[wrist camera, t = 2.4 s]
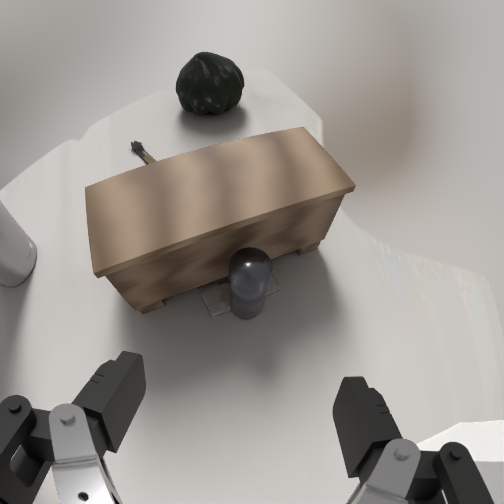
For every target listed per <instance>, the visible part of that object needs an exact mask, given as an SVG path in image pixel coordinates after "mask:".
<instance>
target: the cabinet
mask: <svg viewBox="0 0 504 504" xmlns="http://www.w3.org/2000/svg"><path fill="white" fill-rule="evenodd" d="M355 186H356V185H355V184H354V182H353V181H352V180H351V179H350V178H349V177H348V175H347V174H346V173H345V172H344V171H343V169H342V168H341V167H340V166H339V165H338V164H337V163H336V161H335V160H334V159H333V158H332V157H331V156H330V155H329V154H328V152H327V151H326V150H325V149H324V148H323V147H322V146H321V145H320V144H319V143H318V142H317V141H316V139H315V138H314V137H313V136H312V135H311V134H310V133H309V132H308V131H307V130H306V129H305V128H304V127H299V128H293V129H288V130H282V131H276V132H271V133H266V134H261V135H256V136H251V137H247V138H242V139H238V140H234V141H229V142H225V143H221V144H217V145H213V146H209V147H205V148H201V149H198V150H194V151H191V152H187V153H183V154H180V155H177V156H173V157H170V158H167V159H163V160H160V161H157V162H154V163H151V164H148V165H145V166H142V167H139V168H136V169H133V170H130V171H127V172H124V173H122V174H119V175H116V176H113V177H111V178H108V179H106V180H103V181H100V182H98V183H95V184H93V185H90V186H88V187H85V197H86V213H87V225H88V235H89V244H90V252H91V260H92V267H93V273H94V274H95V276H96V277H97V278H100V277H103V276H106V277H107V279H108V280H109V281H110V282H111V283H112V285H113V286H114V287H115V288H116V289H117V291H118V292H119V293H120V294H121V295H122V296H123V297H124V299H125V300H126V301H127V302H128V303H129V304H130V305H131V307H132V308H133V309H134V310H136V309H139V310H140V311H141V312H142V313H143V314H144V313H147V312H150V311H153V310H156V309H158V308H161V307H164V306H165V305H164V302H163V300H164V299H166V298H169V297H172V296H175V295H177V294H180V293H183V292H185V291H188V290H191V289H194V288H196V287H199V286H202V285H204V284H207V283H210V282H213V281H215V280H218V279H221V278H223V277H226V276H229V261H230V258H231V257H232V255H233V254H234V253H235V252H236V251H238V250H240V249H242V248H246V247H253V248H258V249H260V250H262V251H264V252H265V253H266V254H267V255H268V256H269V258H270V259H274V258H276V257H279V256H282V255H284V254H287V253H290V252H292V251H295V250H296V251H297V252H298V254H299V255H301V254H304V253H306V252H309V251H311V250H314V249H316V248H318V246H319V244H320V242H321V240H323V239H324V238H325V236H326V234H327V232H328V230H329V228H330V226H331V223H332V221H333V219H334V217H335V215H336V213H337V211H338V208H339V206H340V204H341V202H342V200H343V197H344V195H345V194H346V193H350V192H353V190H354V188H355Z"/></svg>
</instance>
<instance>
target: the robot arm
mask: <svg viewBox="0 0 504 504" xmlns="http://www.w3.org/2000/svg"><path fill="white" fill-rule="evenodd" d="M36 255H37V250H36V246H35V244H34V242H33V241H32V240H31V238H30V237H29V236H28V235H27V234H26V233H25V231H24V230H23V229H22V228H21V227H20V225H19V224H18V223H17V222H16V220H15V219H14V218H13V217H12V215H11V214H10V213H9V212H8V210H7V209H6V208H5V207H4V205H3V204H2V203H1V201H0V285H3V284H4V285H6V286H8V287H15V286H17V285H19V284H21V283H22V282H23V281H24V280H25V279H26V278H27V277H28V275H29V274H30V272H31V271H32V269H33V267H34V264H35V261H36ZM145 390H146V381H145V373H144V365H143V358H142V355H140V354H135V353H131V352H127V351H123V352H122V353H121V354H120V355H119V357H118V358H117V359H116V361H113V360H109V361H107V362H106V363H104V364H102V365H101V366H100V367H99V368H98V369H97V371H96V372H95V374H94V375H93V376H92V377H91V378H90V381H88V382H87V384H86V385H85V386H84V387H83V389H82V390H81V391H80V393H79V394H78V395H77V397H76V398H75V399H74V401H73V402H72V403H71V404H61V405H58V406H56V407H55V408H54V409H53V410H52V411H46V410H40V409H34V408H32V406H31V404H30V402H29V401H28V399H26V398H25V397H23V396H20V395H13V396H9V397H7V398H6V399H4V400H3V401H2V403H1V404H0V504H32V503H33V501H34V499H35V497H36V495H37V493H38V491H39V489H40V487H41V485H42V483H43V481H44V479H45V477H46V475H47V473H48V471H49V469H50V467H51V465H52V473H53V477H54V482H55V486H56V490H57V494H58V497H59V501H60V504H123V503H122V501H121V499H120V497H119V495H118V493H117V490H116V488H115V486H114V483H113V481H112V478H111V476H110V473H109V471H108V468H107V465H106V463H105V460H104V458H103V456H104V454H105V452H106V450H108V451H111V452H114V453H117V450H118V448H119V446H120V444H121V442H122V440H123V438H124V436H125V434H126V432H127V430H128V428H129V426H130V424H131V422H132V420H133V417H134V415H135V413H136V411H137V409H138V407H139V405H140V403H141V401H142V399H143V397H144V395H145ZM333 419H334V423H335V427H336V430H337V434H338V438H339V442H340V446H341V450H342V454H343V458H344V462H345V466H346V470H347V474H348V478H354V477H359V480H360V483H359V484H358V485H357V487H356V489H355V490H354V492H353V493H352V495H351V497H350V498H349V500H348V501H347V503H346V504H446V502H445V499H444V496H443V493H442V490H443V492H444V494H445V497H446V500H447V502H448V504H494V502H493V499H492V497H491V495H490V493H489V491H488V489H487V486H486V484H485V482H484V480H483V478H482V476H481V474H480V472H479V470H478V468H477V466H476V464H475V462H474V460H473V458H472V456H471V454H470V453H469V451H468V449H467V448H466V447H465V446H464V445H463V444H461V443H458V442H448V443H446V444H444V445H443V446H442V447H441V449H440V450H439V451H422V450H419V448H418V446H417V445H416V444H415V443H413V442H412V441H410V440H407V439H403V438H402V436H401V434H400V432H399V429H398V427H397V425H396V423H395V421H394V419H393V417H392V415H391V413H390V411H389V409H388V407H387V406H386V403H385V401H384V399H383V397H382V395H381V394H380V393H379V392H378V391H376V390H375V389H374V388H369V387H368V385H367V383H366V381H365V379H364V377H362V376H360V377H344V378H343V380H342V383H341V386H340V388H339V391H338V394H337V397H336V399H335V402H334V405H333ZM20 445H21V446H20ZM19 446H20V447H19ZM18 447H19V449H18ZM17 449H18V451H17V452H16V450H17ZM15 452H16V454H15V455H14V453H15ZM13 455H14V457H13ZM12 457H13V459H12V460H11V458H12ZM10 461H11V462H10ZM53 462H54V463H53Z"/></svg>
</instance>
